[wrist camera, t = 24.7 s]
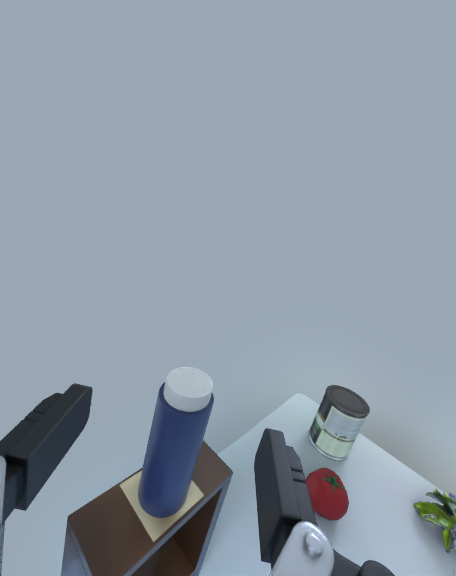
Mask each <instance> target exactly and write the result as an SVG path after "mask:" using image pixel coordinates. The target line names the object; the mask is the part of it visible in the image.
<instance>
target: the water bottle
mask: <svg viewBox="0 0 456 576" xmlns="http://www.w3.org/2000/svg"><path fill="white" fill-rule="evenodd" d="M212 390H213V382H212V379H211V378H210V376H208V375H207V374H206V373H205V372H203V371H201V370H199V369H196V368H192V367H179V368H176V369H173V370H172V371H171V372H169V374H168V375H167V378H166V382H164V383H163V384H162V386H161V388H160V390H159V394H158V398H157V403H156V408H155V412H154V417H153V422H152V427H151V431H150V436H149V441H148V445H147V450H146V455H145V460H144V464H143V469H142V474H141V478H140V483H139V488H138V500H139V503H140V505H141V507H142V509H143V510H144V511H145V512H146V513H147V514H149V515H151V516H153V517H156V518H165V517H169V516H172V515H174V514H175V513H177V512H178V511H179V510H180V509H181V508H182V506H183V505H184V503H185V501H186V498H187V494H188V491H189V487H190V484H191V480H192V477H193V473H194V470H195V466H196V463H197V459H198V456H199V452H200V448H201V445H202V441H203V438H204V434H205V431H206V427H207V424H208V420H209V416H210V413H211V410H212V406H213V402H214V397H213V393H212Z"/></svg>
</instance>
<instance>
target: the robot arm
mask: <svg viewBox="0 0 456 576" xmlns="http://www.w3.org/2000/svg"><path fill="white" fill-rule="evenodd" d="M91 397H92V388H91V387H88V386H84V385H80V384H76V383H75V384H73V385H71V386H70V388H69V389H68V390H67V391H66V392H65V393H64V394H60V393H55V394H53V395H52V396H50V397H48V398H46V399H44V400H43V401H42V402H41V403H40V404H39V405H38V406H36V407H35V408H34V409H33V411H31V412H30V413H29V414H28V415H27V416H26V417H25V419H24V420H22V421H21V422H20V423H19V424H18V425H17V426H16V427H15V428H14V429H13V430H12V431H11V432H10V433H8V434H7V435H6V436H5V437H4V438H3V439H2V440H1V441H0V576H1V569H2V555H3V540H4V526H5V520H6V519H7V518H8V516H9V515H10V514H11V512H12V511H13V510H14V508H15V509H20V510H25V511H26V509H27V508H28V507H29V505H30V503H31V502H32V501H33V499H34V498H35V496H36V495H37V494H38V492H39V491H40V489H41V488H42V487H43V485H44V484H45V483H46V481H47V480H48V478H49V477H50V476H51V474H52V473H53V471H54V470H55V469H56V467H57V466H58V464H59V463H60V461H61V460H62V459H63V457H64V456H65V454H66V453H67V452H68V450H69V449H70V447H71V446H72V445H73V443H74V441H75V440H76V439H77V437H78V436H79V435H80V433H81V432H82V430H83V429H84V427H85V425H86V423H87V421H88V418H89V413H90V405H91ZM254 471H255V485H256V498H257V511H258V525H259V538H260V551H261V561H263V562H267V563H271V570H272V571H271V573H270V575H269V576H395V575H394V574H393V573H392V572H391V571H390V570H389V569H387V568H386V567H385V566H384V565H382V564H380V563H379V562H376V561H372V560H368V561H366V562H365V563H363V565H362V567H360V566H358V565H357V564H355V563H353V562H352V561H350V560H348V559H347V558H345V557H343V556H342V555H340V554H339V553H337V552H336V551H335V550H334V549H333V548H332V546H331V544H330V542H329V540H328V538H327V537H326V535H325V534H324V533H323V531H322V530H321V529H320V528H318V525H317V522H316V518H315V515H314V511H313V507H312V503H311V500H310V496H309V492H308V488H307V484H306V483H305V477H304V473H303V469H302V466H301V462H300V458H299V457H298V455H297V454H296V452H295V450H294V449H293V447H289V446H286V444H285V439H284V435H283V432H281V431H277V430H272V429H268V428H266V429H265V430H264V433H263V436H262V438H261V441H260V444H259V447H258V450H257V452H256V456H255V463H254Z"/></svg>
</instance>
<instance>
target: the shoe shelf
mask: <svg viewBox="0 0 456 576" xmlns="http://www.w3.org/2000/svg"><path fill="white" fill-rule="evenodd" d="M142 469H143V468H141V469H140V470H138V471H137V472H135V473H134V474H132V475H131V476H129V477H128V478H126V479H125V480H123V481H121V482H120V483H118V484H117V485H115V486H114V487H112V488H111V489H109V490H107V491H106V492H104V493H103V494H101V495H100V496H98V497H97V498H95V499H94V500H92V501H90V502H89V503H87V504H86V505H84V506H83V507H81V508H80V509H78V510H77V511H75V512H73V513H72V514H70V515H69V516H68V520H67V529H66V537H65V546H64V555H63V563H62V572H61V576H198V575H199V572H200V569H201V566H202V563H203V560H204V557H205V554H206V551H207V548H208V545H209V542H210V540H211V537H212V534H213V531H214V528H215V525H216V522H217V519H218V516H219V513H220V510H221V507H222V504H223V501H224V498H225V495H226V492H227V489H228V486H229V483H230V480H231V477H232V474H233V471H232V470H231V469H230V468H229V467H228V466H227V465H226V464H225V463H224V462H223V461H222V460H221V459H220V458H219V456H218V455H217V454H216V453H215V452H214V451H213V450H212V449H211V448H210V447H209V446H208V445H207V444H206V443H205V442H204V441H202V445H201V448H200V452H199V456H198V459H197V463H196V466H195V470H194V473H193V477H192V480H191V484H190V487H189V491H188V494H187V498H186V501H185V503H184V505H183V506H182V508H181V509H180V510H179V511H178V512H177V513H175V514H174V515H172V516H169V517H165V518H156V517H153V516H151V515H149V514H147V513H146V512H145V511H144V510H143V509H142V507H141V505H140V503H139V500H138V488H139V483H140V478H141V474H142Z"/></svg>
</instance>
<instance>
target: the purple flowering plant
mask: <svg viewBox="0 0 456 576" xmlns="http://www.w3.org/2000/svg"><path fill="white" fill-rule="evenodd" d="M433 492H434V493H431V492H429V493H426V495H428V496H430V497H432V498H434V499H436V500H437V501H440V502H441V503H443V504H444V505H443V506H442V505H440V504H438V503H430V502H419V503H415V504H414V508H415V509H416V510H418V512H419V515H420V516H421V517H422V518H424V519H425V520H427V521H429V522H431V523H434V524H436V525H439V526H441V527H444V528H445V530H444V531H443V541H444V544H445V547H446V549H449V545H450V541H451V538H452V537H455V540H453V544H454V546H453V548H451V549H450V550H447V551H446V552H450V551H451V552H452V551H454V550H456V535H455V534H454V532H453V531H455V532H456V497H455V496H454V495H453V494H451V493H450V495H449V494H448V493H446V492H444V494H443V496H442V495H441V494H440V492H439V491H438V490H437V489H436V490H433ZM448 514H449V515H448ZM451 516H453V517H451Z"/></svg>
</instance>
